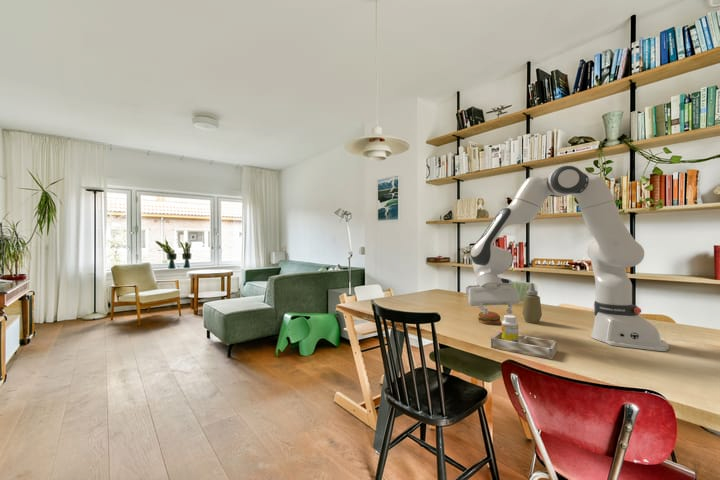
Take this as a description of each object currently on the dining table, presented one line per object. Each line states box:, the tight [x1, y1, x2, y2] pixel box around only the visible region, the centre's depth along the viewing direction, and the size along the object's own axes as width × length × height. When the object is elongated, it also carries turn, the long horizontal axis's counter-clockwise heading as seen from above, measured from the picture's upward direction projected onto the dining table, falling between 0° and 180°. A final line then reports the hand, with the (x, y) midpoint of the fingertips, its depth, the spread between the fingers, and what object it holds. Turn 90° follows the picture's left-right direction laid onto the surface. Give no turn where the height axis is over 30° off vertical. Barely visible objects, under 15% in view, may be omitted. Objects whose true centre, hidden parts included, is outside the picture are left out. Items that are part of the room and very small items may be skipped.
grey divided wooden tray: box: [490, 331, 558, 360], centre depth 115 cm, size 19×10×3 cm, turn 51°
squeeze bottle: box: [522, 282, 543, 324], centre depth 151 cm, size 8×8×18 cm
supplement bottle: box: [501, 314, 520, 343], centre depth 118 cm, size 6×6×10 cm
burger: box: [477, 310, 502, 325], centre depth 151 cm, size 10×9×5 cm
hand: (498, 313), depth 130 cm, fingers open, 8 cm apart
